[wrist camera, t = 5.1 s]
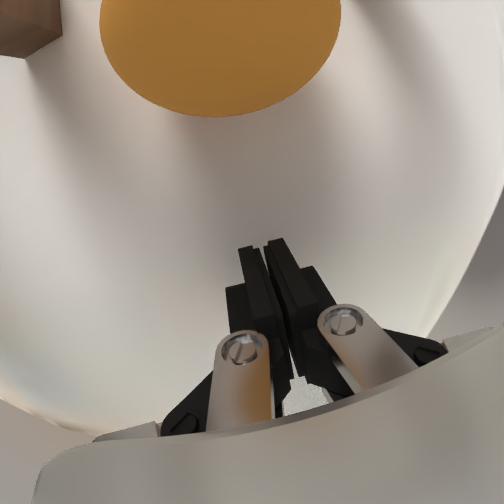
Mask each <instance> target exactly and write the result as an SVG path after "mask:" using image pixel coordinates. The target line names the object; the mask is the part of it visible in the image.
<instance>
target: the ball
mask: <svg viewBox="0 0 504 504" xmlns="http://www.w3.org/2000/svg"><path fill="white" fill-rule="evenodd" d="M340 20H341V4H340V0H102V3H101V10H100V22H99V25H100V34H101V40H102V44H103V47H104V50H105V53H106V56H107V58H108V60H109V62H110V63H111V65H112V67H113V68H114V70H115V72H116V73H117V74H118V75H119V76H120V78H121V79H122V80H123V81H124V82H125V83H126V84H127V85H128V86H129V87H130V88H131V89H133V90H134V91H135V92H136V93H138V94H139V95H140V96H142V97H143V98H145V99H147V100H148V101H150V102H152V103H154V104H156V105H159V106H161V107H164V108H166V109H169V110H171V111H175V112H179V113H182V114H188V115H195V116H202V117H225V116H234V115H241V114H245V113H249V112H254V111H257V110H260V109H263V108H265V107H268V106H270V105H272V104H275V103H277V102H279V101H281V100H283V99H285V98H287V97H288V96H290V95H292V94H293V93H295V92H296V91H297V90H299V89H300V88H301V87H302V86H304V85H305V84H306V83H307V82H308V81H310V80H311V79H312V77H313V76H314V75H315V74H316V73H317V72H318V71H319V70H320V68H321V67H322V66H323V64H324V63H325V61H326V60H327V58H328V57H329V55H330V53H331V51H332V49H333V46H334V44H335V42H336V39H337V36H338V32H339V27H340Z"/></svg>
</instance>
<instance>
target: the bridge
mask: <svg viewBox="0 0 504 504" xmlns="http://www.w3.org/2000/svg"><path fill="white" fill-rule="evenodd" d="M60 36H62V27H61V17H60V4H59V0H0V55H3V56H10V57H16V58H22V59H25V58H26V57H28V56H29V55H31V54H32V53H34V52H35V51H37V50H38V49H40V48H42V47H43V46H45V45H47V44H48V43H50V42H52V41H53V40H55V39H57V38H59V37H60Z"/></svg>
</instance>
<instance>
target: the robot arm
mask: <svg viewBox="0 0 504 504" xmlns="http://www.w3.org/2000/svg"><path fill="white" fill-rule="evenodd" d="M263 248H264V254H265V258H266V263H267V268H268V271H267V269H266V266H265V263H264V260H263V258H262V255H261V252H260V249H259V248H255V249H253V246H252V245H251V246H247V247H243V248H239V249H238V252H239V257H240V261H241V266H242V271H243V275H244V280H245V283H242V284H238V285H234V286H230V287H226V288H225V291H226V300H227V309H228V318H229V326H230V335H228V336H226V337H225V338H224V339H223V340H222V341H221V342H220V343H219V345H218V346H217V349H216V353H215V360H214V368H213V371H212V372H211V373H210V374H209V375H208V376H207V377H206V378H205V379H204V380H203V381H202V382H201V383H200V384H199V385H198V386H197V387H196V388H195V389H194V390H193V391H192V392H191V393H190V394H189V395H188V396H187V397H186V398H185V399H184V400H183V401H181V402H180V403H179V404H178V405H177V406H176V407H175V408H174V409H173V410H172V411H171V412H170V413H169V414H168V415H167V416H166V418H165V419H164V420H163V422H161V423H158V424H157V423H156V422H155V421H153V422H149V423H146V424H143V425H139V426H135V427H132V428H128V429H124V430H120V431H116V432H112V433H108V434H103V435H101V436H99V437H97V438H96V439H95V440H93V441H92V443H88V444H83V445H80V446H76V447H73V448H70V449H67V450H64V451H62V452H60V453H58V454H56V455H54V456H53V457H51V458H50V459H49V460H47V462H46V463H45V464H44V465H43V467H42V469H41V471H40V473H39V475H38V478H37V481H36V485H35V488H34V492H33V497H32V502H31V504H504V323H502V324H499V325H497V326H496V327H492V326H491V327H484V328H481V329H478V330H475V331H471V332H468V333H464V334H461V335H457V336H453V337H450V338H446V339H443V341H442V343H438V342H436V341H434V340H431V339H426V338H422V337H417V336H413V335H408V334H404V333H400V332H395V331H391V330H387V329H383V328H381V327H380V326H379V325H378V324H377V323H376V322H375V321H374V320H373V319H372V318H371V317H370V316H369V315H368V314H367V313H366V312H365V311H364V310H363V309H361V308H360V307H358V306H355V305H351V304H338V305H337V304H336V302H335V300H334V299H333V297H332V295H331V294H330V292H329V291H328V289H327V287H326V286H325V284H324V283H323V281H322V279H321V278H320V276H319V275H318V273H317V271H316V270H315V268H314V267H313V266H309V267H305V268H301V269H300V268H299V266H298V264H297V263H296V261H295V259H294V257H293V255H292V254H291V252H290V250H289V248H288V247H287V245H286V243H285V241H284V239H283V238H280V239H276V240H272V241H268V245H267V246H263ZM268 273H269V274H268ZM289 349H290V352H291V355H292V358H293V361H294V364H295V367H296V370H297V373H298V376H299V377H301V376H305V378H306V381H307V384H310V383H311V384H314V385H317V386H319V387H322V391H323V394H324V396H325V397H326V399H327V401H328V402H329V404H326V405H323V406H320V407H316V408H313V409H310V410H306V411H303V412H299V413H295V414H291V415H288V416H285V415H284V404H283V399H284V398H285V397H286V395H287V394H288V393H289V391H290V390H291V385H290V379H294V374H293V369H292V363H291V358H290V352H289Z"/></svg>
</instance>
